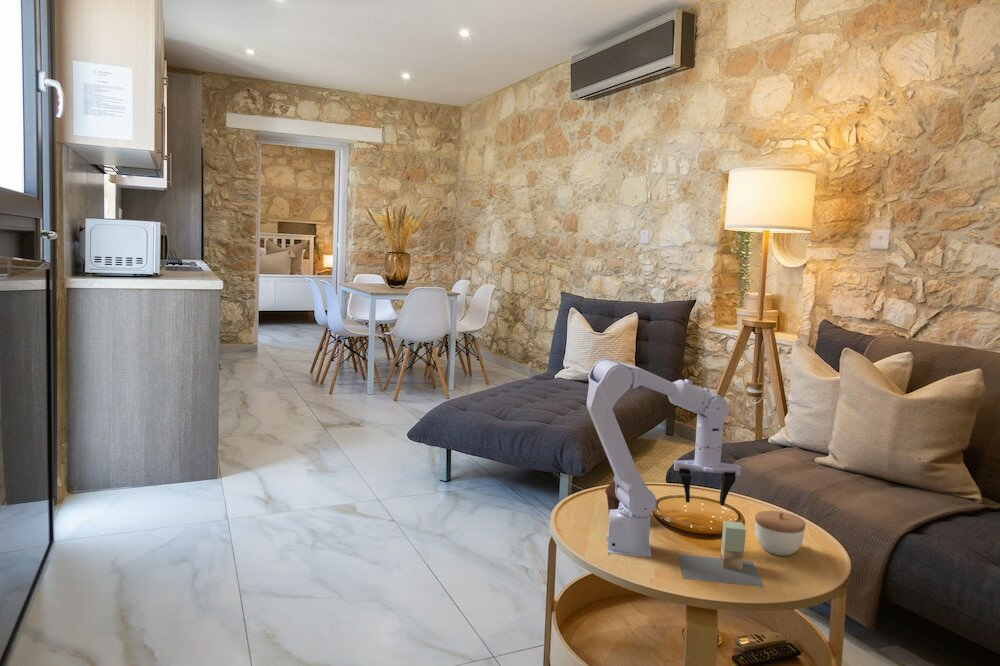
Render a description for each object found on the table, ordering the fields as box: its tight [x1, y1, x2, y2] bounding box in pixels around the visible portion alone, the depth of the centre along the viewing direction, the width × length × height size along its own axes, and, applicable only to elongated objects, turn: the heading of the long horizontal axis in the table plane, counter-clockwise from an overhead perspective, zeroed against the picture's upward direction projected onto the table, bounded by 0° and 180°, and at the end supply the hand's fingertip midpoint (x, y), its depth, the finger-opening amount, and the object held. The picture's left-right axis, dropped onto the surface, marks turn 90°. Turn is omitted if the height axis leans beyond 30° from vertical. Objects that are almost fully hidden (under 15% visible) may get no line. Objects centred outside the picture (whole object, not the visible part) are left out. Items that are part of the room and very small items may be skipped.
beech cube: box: [719, 543, 745, 570], centre depth 150 cm, size 4×4×4 cm
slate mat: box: [677, 553, 765, 588], centre depth 148 cm, size 16×12×1 cm
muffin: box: [604, 480, 620, 513], centre depth 177 cm, size 12×11×10 cm
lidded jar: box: [754, 510, 806, 557], centre depth 159 cm, size 11×11×9 cm
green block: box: [721, 520, 746, 553], centre depth 150 cm, size 4×4×5 cm
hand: (704, 502), depth 160 cm, fingers open, 7 cm apart
